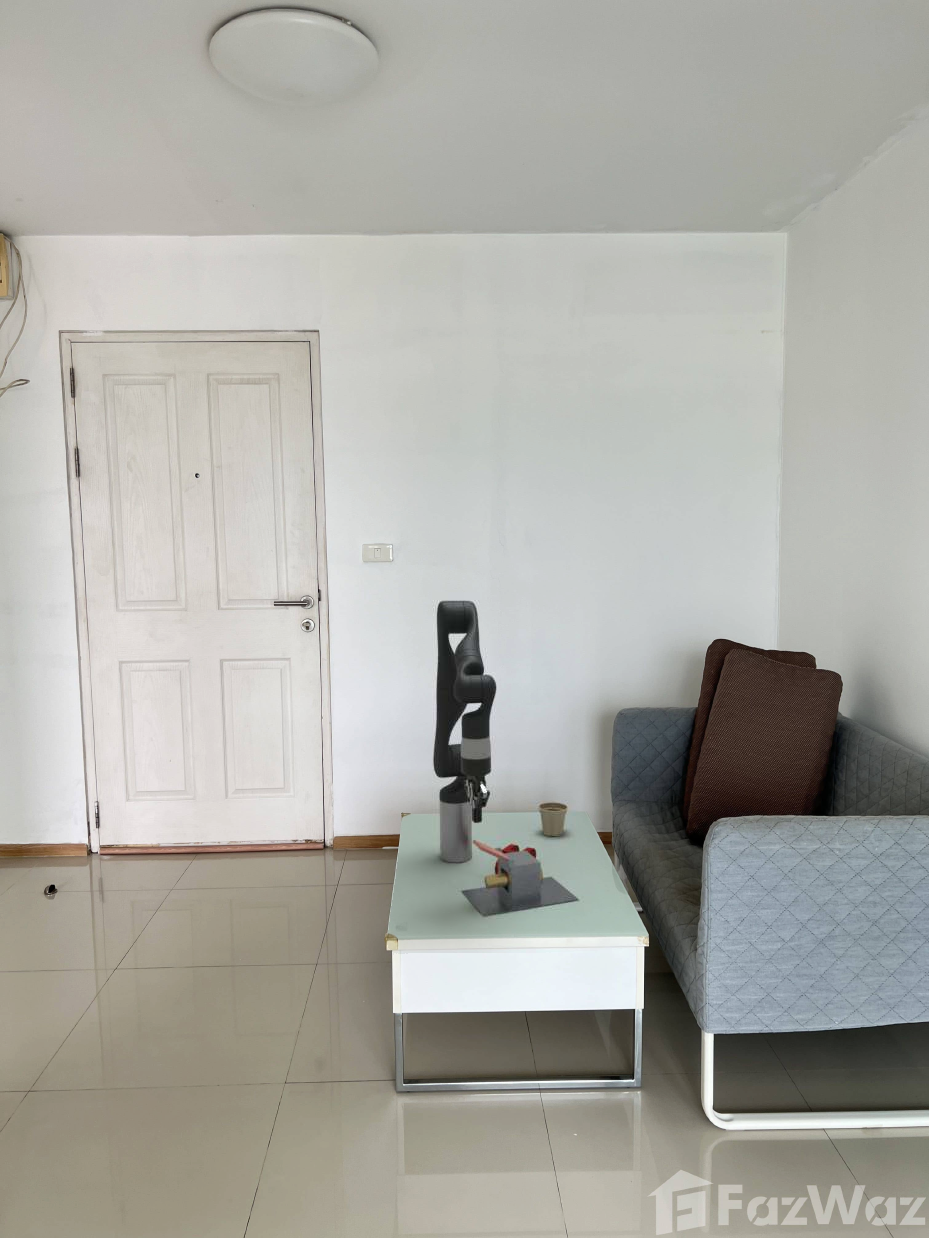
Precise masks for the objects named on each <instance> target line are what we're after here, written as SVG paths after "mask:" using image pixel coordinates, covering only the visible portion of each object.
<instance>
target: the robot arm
mask: <svg viewBox="0 0 929 1238" xmlns="http://www.w3.org/2000/svg"><path fill="white" fill-rule="evenodd" d="M478 615H479V614H478V610H477V607H476V604H475V603H474V602H473V601H470V600H442V601H441V600H440V601H439V603H438V605H437V610H436V632H437V633H436V634H437V635H436V636H437V638H436V640H437V665H436V666H437V667H436V668H437V670H436V672H437V673H436V689H435V690H436V695H435V697H436V699H435V701H436V702H435V703H436V717H435V718H436V721H435V724H436V725H435V734H434V735H435V737H434V745H433V758H432V761H433V762H432V763H433V771H434V773H435V775H436V777H438V778H440V779H443V778H444V779H446V778H454V780H453V781H452V782H450V783H449V784H446V785H445V786H444V787H442V788H441V789H440V790H439V794H438V795H439V796H438V797H439V842H440V843H439V848H440V849H439V851H440V852H439V853H440V855H439V857H440V859H441V860H442V861H445V862H448V863H463V862H467V861H470V860H471V859H472V857H473V837H472V836H473V831H472V830H473V828H472V824H473V823H474V824H479V823H482V821H483V809H482V808H486V807H487V804H488V801H489V799H490V795H491V791H490V790H487V789H486V788H487V781H486V778H485V777H486V776H487V775H489V774H490V773H491V772H492V745H491V736H490V734H491V733H490V732H491V731H490V730H491V729H490V724H491V723H490V722H491V715H492V708H493V704H494V702H495V701H494V700H495V697H496V693H497V684H496V683H497V682H496V679H495V678H494V677H493V676H492V675H490V674H485V667H484V661H483V658H482V654H481V648H480V645H481V644H480V628H479V616H478ZM455 634H456V635H457V634H458V635H460V634H461V635H462V634H463V635H464V634H465V635H464V636H463V638H462V639H461V641H460V642H459V643H458V645H456V648H455V650H453V648H452V645H451V642H450V635H455ZM468 704H469V705H470V704H480V706H479V707H478V708H477V709H475V710H472V711H470V712H466V713H464V712H465V710H466V708H467V707H468ZM460 718H461V720H460ZM459 720H460V721H461V742H460V743H454V744H450V738H451V735H452V732H453V730H454V728H455V727H456V724H457V723H458V721H459ZM455 777H456V778H455ZM472 822H473V823H472Z"/></svg>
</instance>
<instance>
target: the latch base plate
mask: <svg viewBox="0 0 929 1238" xmlns="http://www.w3.org/2000/svg"><path fill="white" fill-rule="evenodd" d="M494 849H496V850H498V851H501V850H502V847H495V848H494ZM505 855H506V856H507V857H508V858H509V859H508V862H506V861H504V860H501V859H499V858H497V860H498V874H501V873H508V876H509V886H503V887H496V888H490V889H487V888H486V886H483V887H476V888H470V889H465V890H461V893H462V894H463V895H464V897H466V898H467V900H468V901H469V903H471V904H472V906H473V907H474V908H475V909H476V910H477V911H478V912H479V913H480V914H481V915H482V916H483V917H487V916H489V917H490V916H494V915H500V914H506V913H512V912H517V911H518V912H519V911H523V910H524V911H525V910H528V909H529V910H530V909H536V908H541V907H547V906H553V905H560V904H564V903H571V902H576V901H580V899H579V898H578V897H577V896H575V894H573V893H572V892H570V890H568V889H567V888H566V887H564V885H562V884H561V883H560V882H558V881H557V880H556V879H555V878H554V877H553V876H548V877H547V876H546V877H543V883H542V885H541V869H542V867H541V861H539V860H538V859H537V857H536V858H535V857H533V856H532V855H531V854H530V853H528V852H527V851H523V850H521V851H520V852H513V853H506V854H505Z"/></svg>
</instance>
